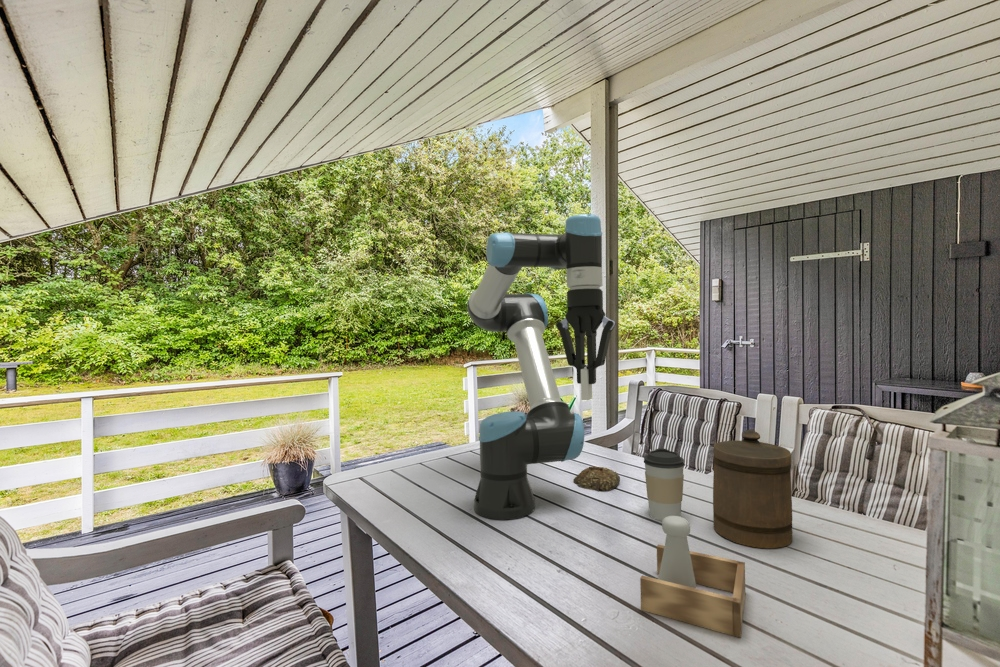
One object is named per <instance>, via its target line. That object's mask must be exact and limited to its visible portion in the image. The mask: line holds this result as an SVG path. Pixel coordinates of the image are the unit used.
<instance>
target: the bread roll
mask: <svg viewBox="0 0 1000 667" xmlns="http://www.w3.org/2000/svg"><path fill="white" fill-rule="evenodd" d="M620 480H621V478H620V475H619V474H618V473H617V471H614V470H613V469H609V468H607V467H604V466H589V467H586V468H584V469H583V470H581V472H580V473H578V474H577V475H576V476H575V477H574V479H573V484H574V485H577V486H578V487H579V488H582V489H584V490H591V491H596V492H602V493H605V492H606V493H607V492H609V491H612V490H613V489H614V490H615V488H617V487H618V486H619V484H620Z"/></svg>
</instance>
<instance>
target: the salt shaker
mask: <svg viewBox="0 0 1000 667" xmlns="http://www.w3.org/2000/svg"><path fill="white" fill-rule="evenodd" d="M661 527H662V532H664V534H666V536H665V542H664V546H665V547H664V552H663V557H662V562H661V567H660V572H659V575H658V578H657V579H659V580H663V581H667V582H671V583H675V584H679V585H683V586H688V587H692V588H696V587H697V584H696V582H695V577H694V572H693V567H692V561H691V556H690V551H691V550H690V546H689V541H688V536H689V535H690V534H691V525H690V522H689V521H688V520H687V519H686V518H685V517H683V516H681V517H679V516H668V517H665V518H664V519H663V521H661ZM696 589H697V588H696Z"/></svg>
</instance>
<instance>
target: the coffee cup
mask: <svg viewBox="0 0 1000 667" xmlns="http://www.w3.org/2000/svg"><path fill="white" fill-rule="evenodd" d="M643 464H644V468H645V471H644V475H645V476H644V477H645V485H646V488H645V489H646V498H647V501H648V502H647V503H648V511H649V513H648V514H649V516H650V517H651V518H652V519H654V520H656V521H661V522H662V521H663V519H664V518H665V517H668V516H679V517H682V516H681V514H682V501H683V494H684V477H685V476H684V466H685V460H684V458H683V457H681V456H680V454H679V453H678V452H675V451H671V450H669V449H667V448H656V449H654V450H651V451H649V452H648V454H647V455H645V456H644V457H643Z"/></svg>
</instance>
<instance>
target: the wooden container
mask: <svg viewBox="0 0 1000 667" xmlns="http://www.w3.org/2000/svg"><path fill="white" fill-rule="evenodd" d="M741 437H742V440H724V441H719V442H716V443H714V445H713V480H712V481H713V484H712V506H713V507H712V509H713V510H712V511H713V517H712V518H713V529H714V531H715V532H716V533H717V534H719V536H721V537H723V538H725V539H727V540H728V541H731V542H733V543H735V544H738V545H739V544H740V545H742V546H745V547H751V548H757V549H781V548H784V547H788V546H789V545H790V544H792V542H793V499H792V498H793V497H792V478H791V469H792V453H791V451H790V450H789V449H787V448H786V447H783V446H780V445H776V444H773V443H767V442H763V441H762V442H761V441H759V439H761V434H760V433H759V432H756V430H755V429H746V430H744V431H742V433H741Z"/></svg>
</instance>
